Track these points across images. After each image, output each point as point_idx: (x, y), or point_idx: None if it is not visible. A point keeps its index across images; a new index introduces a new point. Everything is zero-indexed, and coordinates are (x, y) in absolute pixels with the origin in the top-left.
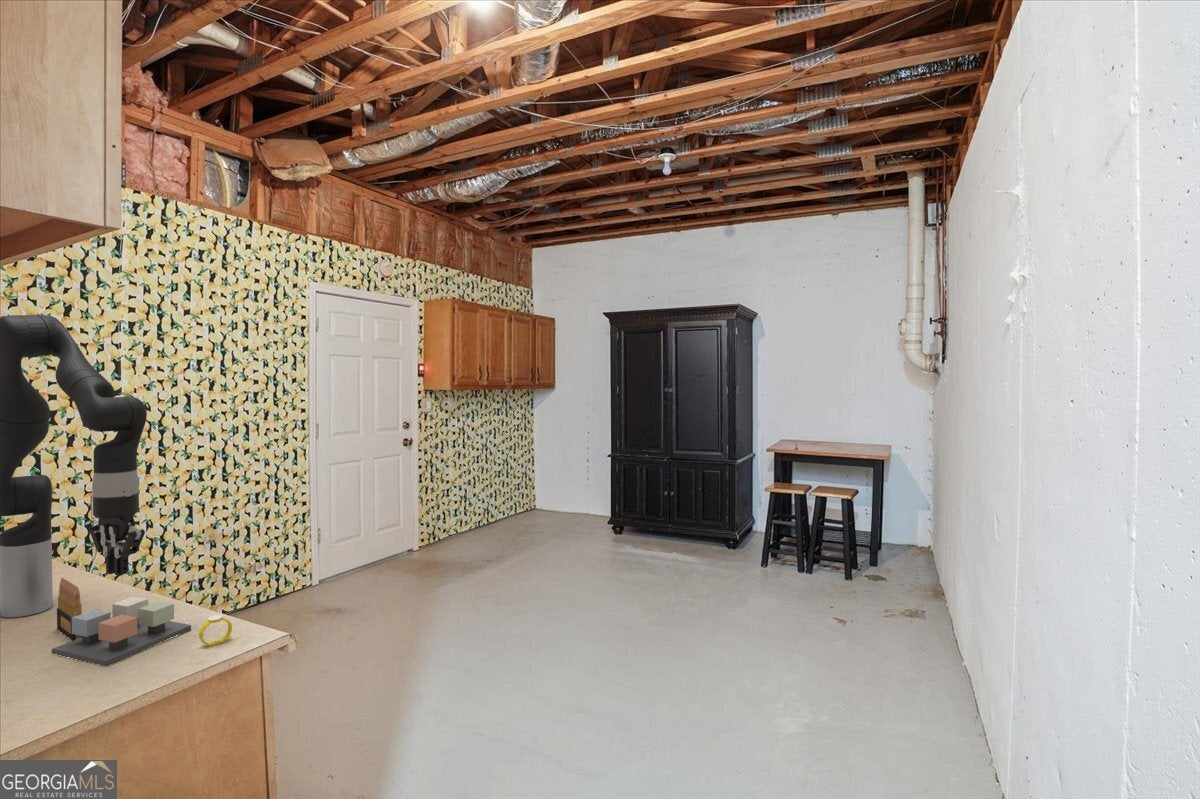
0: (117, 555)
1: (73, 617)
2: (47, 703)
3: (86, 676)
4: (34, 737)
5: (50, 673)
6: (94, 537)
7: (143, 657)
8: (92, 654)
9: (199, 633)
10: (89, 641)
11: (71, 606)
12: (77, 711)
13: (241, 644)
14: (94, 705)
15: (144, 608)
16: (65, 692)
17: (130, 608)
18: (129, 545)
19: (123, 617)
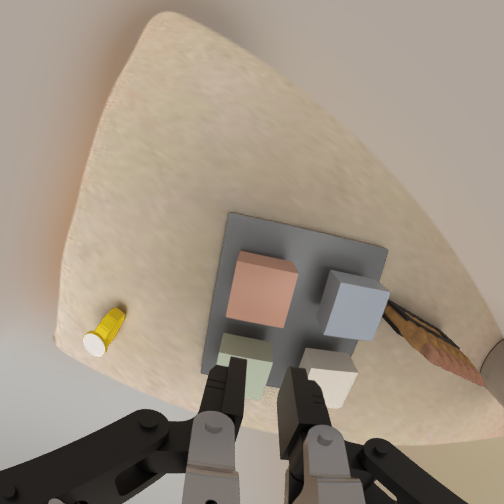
0: (205, 424)
1: (386, 293)
2: (215, 83)
3: (235, 172)
4: (151, 25)
5: (317, 175)
6: (435, 500)
7: (192, 258)
8: (285, 235)
9: (118, 318)
10: None
11: (428, 338)
12: (146, 78)
13: (79, 318)
14: (134, 96)
15: (257, 364)
16: (219, 116)
17: (307, 369)
18: (66, 448)
19: (262, 313)
